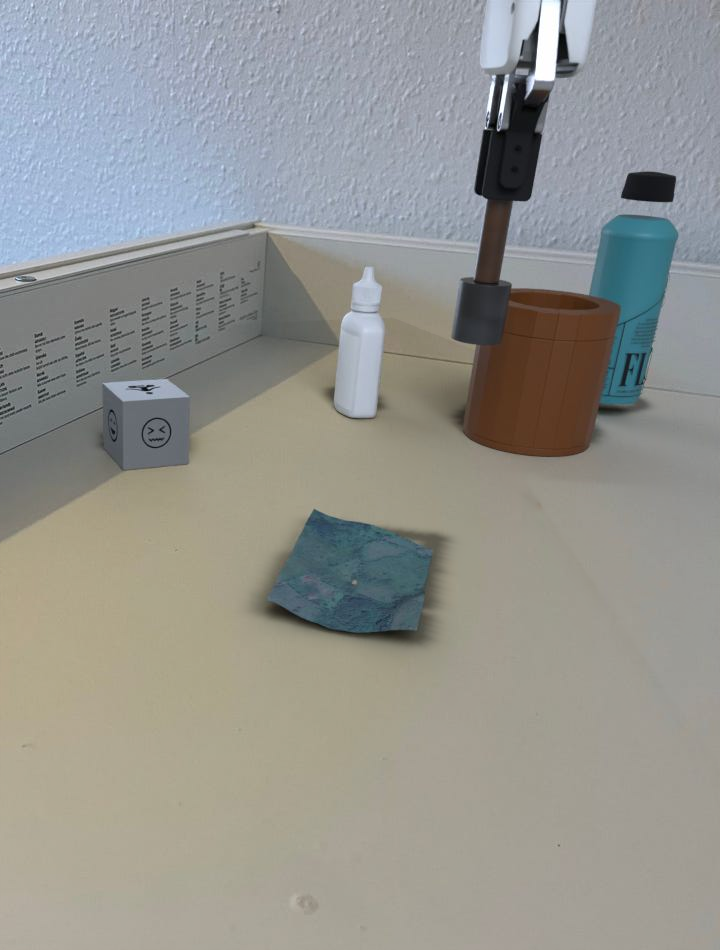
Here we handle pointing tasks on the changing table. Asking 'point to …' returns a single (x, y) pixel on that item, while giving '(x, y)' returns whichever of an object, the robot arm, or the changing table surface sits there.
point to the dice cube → (146, 423)
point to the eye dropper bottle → (360, 351)
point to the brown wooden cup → (542, 374)
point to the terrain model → (353, 577)
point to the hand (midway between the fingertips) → (501, 195)
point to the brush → (485, 283)
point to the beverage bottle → (634, 282)
